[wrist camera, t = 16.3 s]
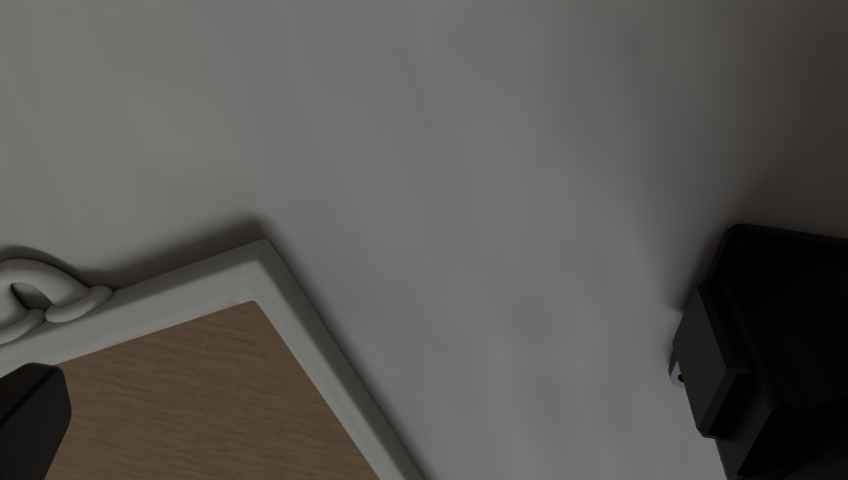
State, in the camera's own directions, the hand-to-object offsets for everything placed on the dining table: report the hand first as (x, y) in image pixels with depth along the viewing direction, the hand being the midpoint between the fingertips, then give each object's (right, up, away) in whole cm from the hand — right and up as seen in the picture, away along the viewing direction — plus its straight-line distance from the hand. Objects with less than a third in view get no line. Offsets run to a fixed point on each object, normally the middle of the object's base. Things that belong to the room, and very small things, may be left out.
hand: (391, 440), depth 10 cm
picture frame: (-8, -9, +23) cm, 27 cm away
